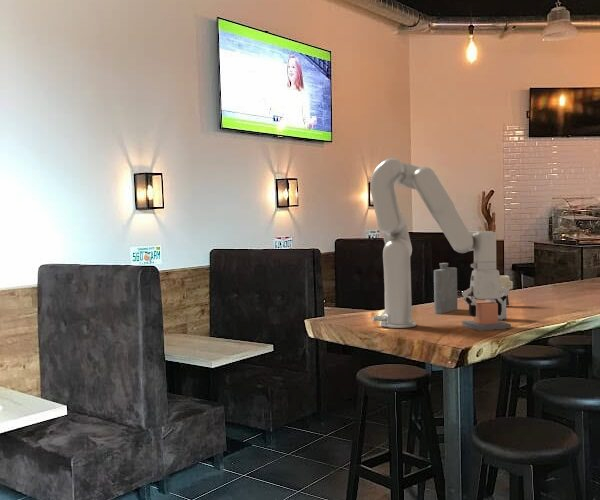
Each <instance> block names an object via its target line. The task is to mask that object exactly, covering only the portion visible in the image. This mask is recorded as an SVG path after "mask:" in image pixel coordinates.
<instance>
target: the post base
mask: <svg viewBox="0 0 600 500" xmlns="http://www.w3.org/2000/svg"><path fill="white" fill-rule="evenodd" d="M461 325H462V326H463V327H466V328H469V329H472V330H475V331H479V332H480V331H481V332H482V331H495V330H494V329H497V330H506V328H511V329H512V324H511V323H508V322H504V321H502V320H498V323H496V324H479V323H476V322H474V319H473V320H462V321H461Z"/></svg>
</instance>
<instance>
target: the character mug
mask: <svg viewBox="0 0 600 500" xmlns="http://www.w3.org/2000/svg"><path fill="white" fill-rule="evenodd" d="M500 279H501V287H503V288H504V289H506V290H508V292H509V291H510V289H511V290H512V289H513V288H514V287H513V285H514V282H513V280H510V276H509V275H500ZM508 294H509V293H508ZM508 294H507V296H506V306H509V305H510V302H509V301H510V300H509V295H508Z"/></svg>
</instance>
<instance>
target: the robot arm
mask: <svg viewBox="0 0 600 500" xmlns="http://www.w3.org/2000/svg"><path fill="white" fill-rule="evenodd" d="M441 182H442V181H440V179H439V177H438V176H437V174H436V172H435V171H434V170H433V169H432V168H431V167H428V166H422V167H421V166H418V165H414V164H409V163H407V162H403V161H401V160H399V159H397V158H395V157H394V158H393V157H390V158H386V159H385V160H382V161H381V162H380V163H379V164H378V165H377V166H376V167H375V169H374V171H373V172H372V175H371V177H370V186H369V188H370V194H371V199H372V205H373V209H374V213H375V217H376V222H377V223H376V224H377V227H378V229H379V231H380V232H381V234H382V236H383V242H384V247H383V250H382V263H383V279H384V280H383V283H384V286H383V287H384V312H381V313H382V314H380V315H373V316H372V317H371V319H372V320H371V321H372V322H380V326H382V327H384V328H389V329H407V328H413V327H416V326H417V321H415V320H412V318H413V315H412V276H411V275H412V271H411V269H412V268H411V256H412V254H413V253H412V252H413V247H412V246H413V245H412V242H411V238H410V233H409V230H408V225H407V222H406V218H405V216H404V214H403V213H402V211H400V208H399V204H398V200H397V199H398V198H397V195H396V194H397V193H396V191H395V185H398V186H401V187H404V188H408V189H412V190H416V192H417V193H418V195H419V196H420V198H421V200H422V201H423V203H424V204H425V206H426V208H427V210H428V211H429V213H430V215H431V216H432V218H433V219H434V220H435V222H436V224H438V227H439V228H440V229H441V231H442V233H443V235H444V236H445V238H446V239H447V241H448V242H449V245H450V246H451V248H452V249H453V250H454V251H455V252H457V253H459V254H465V253H468V252H472V251H473V263H471V264H470V268H473V270H472V271H471V275H470V284H469V288H467V289H466V290H464V291H462V292H461V295H462V298H463V300H464V301H465V302H466V304H468V314H469V316H470V317H473V318H474V317H475V316H476V305H474V304H475V303H476V302H478V301H479V300H480V301H482V300H484V301H485V300H489V299H494V300H495V301H496V303H498V315H501V312H502V304H503V301H504V300H505V299H506V296H507V294H509V291H508V290H506V289H504V288H502V287H501V279H500V276H501V275H500V271H499V270H498V269H497V235H496V233H495V231H492V230H490V231H489V230H481V231H469V230H468V228H467V226H466V225H465V223H464V221H463V220H462V218H461V216H460V215H459V213H458V211H457V209H456V206H455V204H454V202H453V200H452V198H450V196H449V194H448V192H447V191H446V189H445V187H444V185H443V184H442V183H441ZM468 295H469V296H470V297H469V296H468Z"/></svg>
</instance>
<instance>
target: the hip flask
mask: <svg viewBox="0 0 600 500" xmlns="http://www.w3.org/2000/svg"><path fill="white" fill-rule="evenodd" d="M433 291H434V292H433V296H434V297H433V301H434V302H433V303H434V315H443V314H445V313H449V312H454V311H458V268H457V267H449V262H442V263H441V262H439V269H438V268H437V269H434V270H433Z"/></svg>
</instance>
